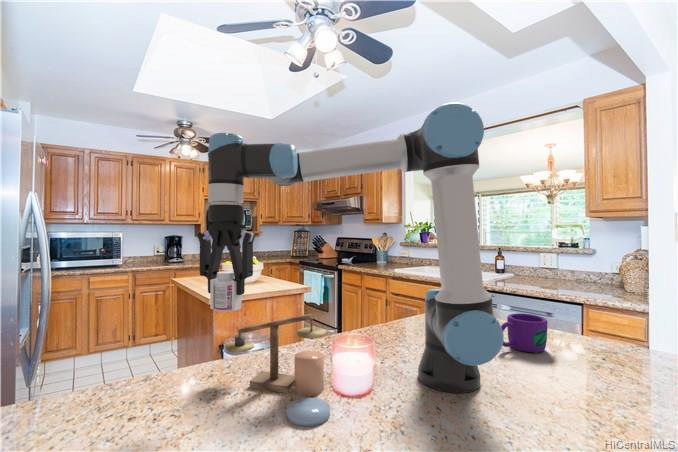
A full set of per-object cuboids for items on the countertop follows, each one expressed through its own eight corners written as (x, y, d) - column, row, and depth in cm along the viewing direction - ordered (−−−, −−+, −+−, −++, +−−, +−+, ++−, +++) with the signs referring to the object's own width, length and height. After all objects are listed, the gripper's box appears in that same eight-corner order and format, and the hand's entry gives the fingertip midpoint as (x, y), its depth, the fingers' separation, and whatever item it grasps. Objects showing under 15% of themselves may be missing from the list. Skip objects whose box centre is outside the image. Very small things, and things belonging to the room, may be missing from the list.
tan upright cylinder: (327, 385, 86) (327, 352, 86) (317, 398, 80) (318, 363, 80) (301, 381, 88) (301, 349, 88) (289, 393, 82) (289, 359, 82)
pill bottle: (230, 312, 76) (230, 273, 76) (210, 311, 77) (210, 273, 77) (241, 307, 80) (240, 271, 80) (222, 306, 81) (222, 270, 81)
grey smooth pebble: (335, 406, 76) (335, 401, 76) (321, 429, 67) (321, 423, 67) (297, 400, 78) (297, 395, 78) (278, 422, 70) (278, 416, 70)
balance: (329, 386, 86) (330, 311, 86) (320, 399, 79) (320, 319, 79) (235, 372, 93) (235, 304, 93) (219, 383, 86) (219, 310, 87)
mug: (526, 341, 120) (526, 311, 120) (556, 352, 109) (556, 320, 109) (484, 346, 115) (484, 315, 115) (512, 359, 104) (512, 325, 104)
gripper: (269, 204, 80) (269, 307, 80) (203, 206, 85) (203, 302, 85) (252, 202, 72) (252, 315, 72) (181, 204, 78) (181, 309, 77)
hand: (226, 308), depth 79 cm, fingers closed on pill bottle, 5 cm apart
